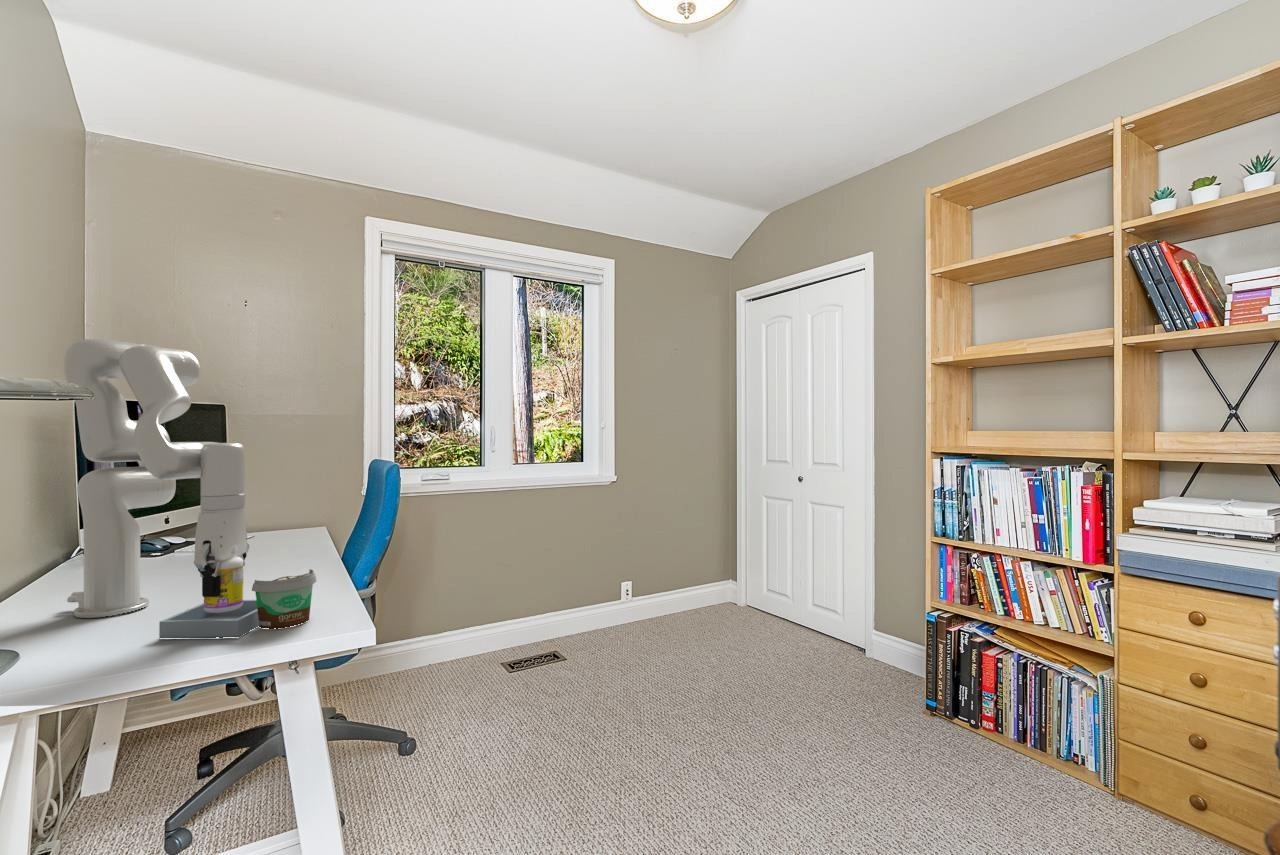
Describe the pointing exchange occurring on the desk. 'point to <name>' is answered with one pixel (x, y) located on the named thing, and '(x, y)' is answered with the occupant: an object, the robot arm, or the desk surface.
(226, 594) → the supplement bottle
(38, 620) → the desk surface
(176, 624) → the tray
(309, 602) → the food container
